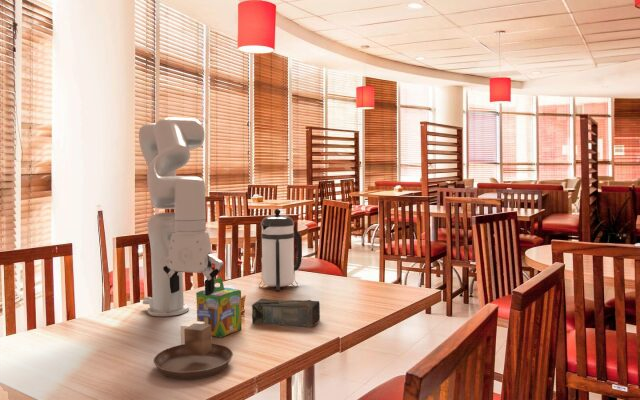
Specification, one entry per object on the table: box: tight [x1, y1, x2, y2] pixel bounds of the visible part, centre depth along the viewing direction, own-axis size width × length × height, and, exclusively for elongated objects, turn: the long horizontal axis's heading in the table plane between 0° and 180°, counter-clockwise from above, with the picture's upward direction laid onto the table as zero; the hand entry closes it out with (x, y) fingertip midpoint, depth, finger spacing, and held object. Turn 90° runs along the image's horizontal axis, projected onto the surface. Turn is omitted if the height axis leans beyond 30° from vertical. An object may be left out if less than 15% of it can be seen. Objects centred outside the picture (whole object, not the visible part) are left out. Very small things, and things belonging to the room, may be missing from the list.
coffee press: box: [258, 208, 303, 293], centre depth 197 cm, size 17×16×30 cm
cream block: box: [179, 320, 205, 345], centre depth 132 cm, size 4×4×6 cm
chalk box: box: [196, 277, 242, 338], centre depth 144 cm, size 9×9×15 cm
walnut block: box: [184, 323, 213, 356], centre depth 121 cm, size 4×4×6 cm
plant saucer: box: [153, 342, 234, 381], centre depth 119 cm, size 18×18×3 cm
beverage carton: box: [251, 298, 321, 328], centre depth 153 cm, size 8×19×7 cm, turn 77°
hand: (192, 293), depth 131 cm, fingers open, 9 cm apart
